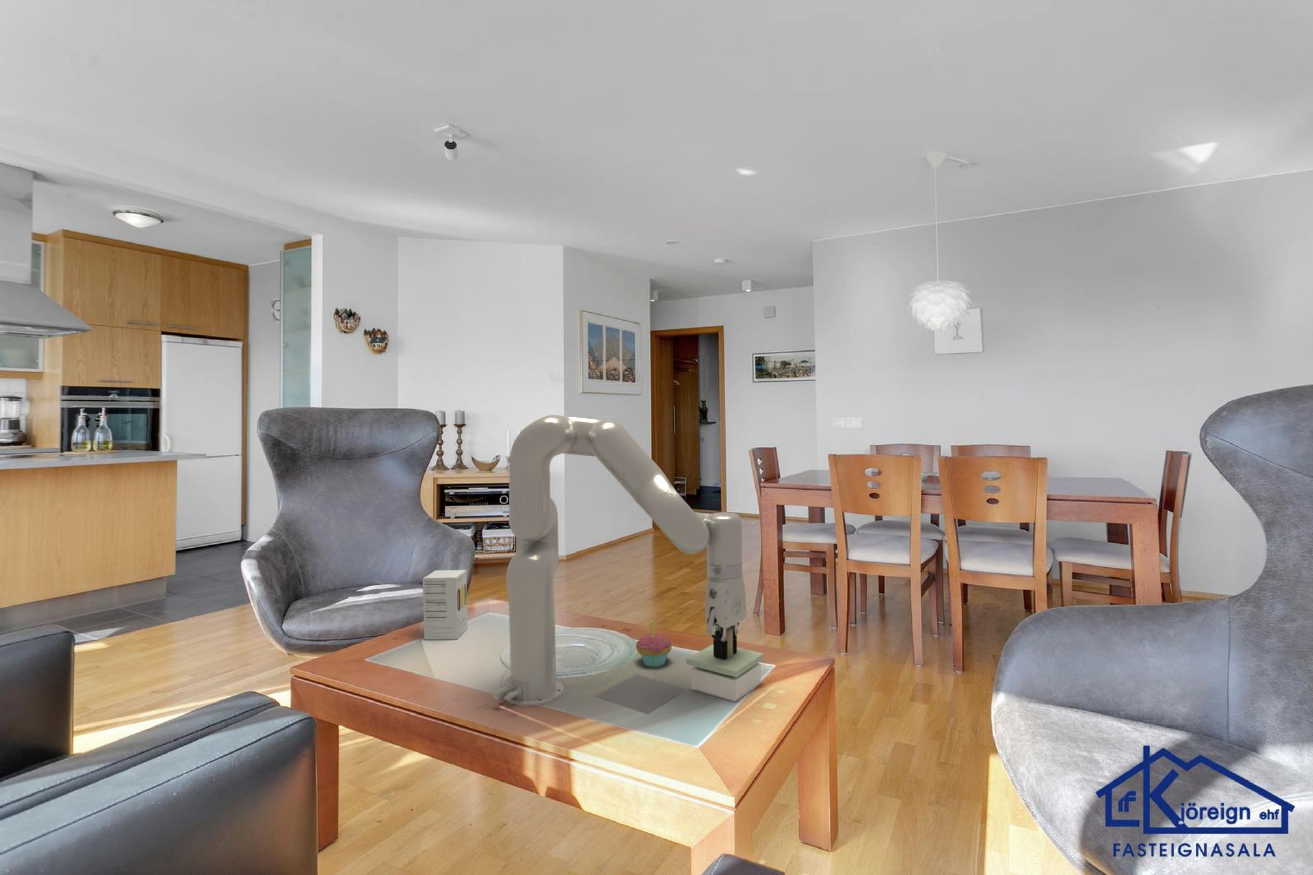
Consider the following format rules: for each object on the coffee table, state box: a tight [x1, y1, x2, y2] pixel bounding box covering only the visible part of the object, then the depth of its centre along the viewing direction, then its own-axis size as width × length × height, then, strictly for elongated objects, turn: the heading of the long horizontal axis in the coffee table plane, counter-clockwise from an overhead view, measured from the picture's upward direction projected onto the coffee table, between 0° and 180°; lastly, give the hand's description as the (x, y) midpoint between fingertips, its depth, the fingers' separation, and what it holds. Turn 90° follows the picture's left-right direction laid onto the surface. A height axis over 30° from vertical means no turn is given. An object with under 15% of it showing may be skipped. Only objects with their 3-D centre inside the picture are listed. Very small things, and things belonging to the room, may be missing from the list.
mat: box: [594, 673, 688, 715], centre depth 137 cm, size 14×14×1 cm
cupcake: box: [635, 617, 673, 667], centre depth 153 cm, size 9×8×12 cm
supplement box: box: [422, 569, 469, 641], centre depth 177 cm, size 10×9×17 cm
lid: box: [686, 627, 764, 677], centre depth 139 cm, size 12×12×7 cm
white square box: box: [689, 662, 762, 703], centre depth 139 cm, size 11×11×5 cm
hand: (725, 654), depth 139 cm, fingers closed on lid, 3 cm apart
